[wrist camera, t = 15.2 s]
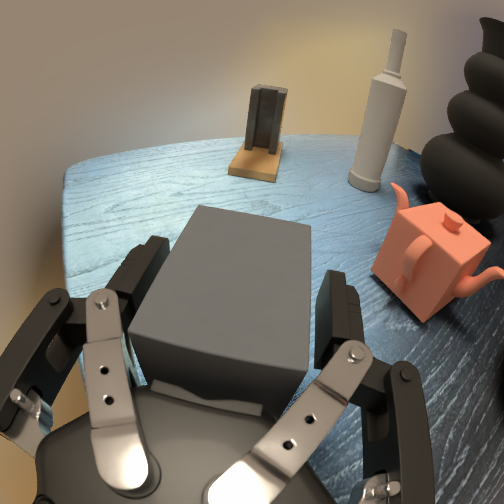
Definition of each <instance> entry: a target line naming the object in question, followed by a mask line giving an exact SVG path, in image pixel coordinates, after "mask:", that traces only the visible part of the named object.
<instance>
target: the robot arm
mask: <svg viewBox="0 0 504 504" xmlns="http://www.w3.org/2000/svg"><path fill="white" fill-rule="evenodd" d="M169 253H170V246H169V239H168V238H164V237H159V236H154V235H152V236H151V237H150V238H149V240H148V241H147V242H146V244H145V245H141V244H139V245H138V246H136V247H135V248H133V249H132V250H131V251H130V252H129V254H128V255H127V256H126V258H125V260H124V261H123V262H122V263H121V266H119V268H118V269H117V271H116V272H115V273H114V275H113V276H112V278H111V279H110V281H109V282H108V284H107V285H106V287H105V288H103V289H98V290H95V291H94V292H92V293H91V294H90V295H89V296H88V297H87V298H70V296H69V293H68V292H67V291H66V290H65V289H62V288H56V289H52V290H50V291H48V292H47V293H46V294H45V295H44V296H43V298H42V299H41V300H40V301H39V303H38V304H37V305H36V307H35V308H34V309H33V311H32V312H31V313H30V315H29V316H28V317H27V319H26V320H25V321H24V323H23V324H22V326H21V327H20V328H19V330H18V331H17V333H16V334H15V336H14V337H13V339H12V340H11V341H10V343H9V344H8V346H7V348H6V349H5V351H4V352H3V354H2V355H1V357H0V435H1V436H3V437H5V438H6V439H8V440H10V441H12V442H13V443H15V444H16V445H17V446H19V447H20V448H21V449H22V450H24V451H25V452H26V453H28V454H29V455H30V456H32V457H33V458H34V459H35V464H36V472H37V495H36V498H35V500H34V502H33V504H337V503H336V502H335V500H334V499H333V497H332V496H331V495H330V493H329V492H328V490H327V489H326V487H325V486H324V485H323V483H322V482H321V480H320V479H319V477H318V476H317V474H316V473H315V471H314V470H313V468H312V467H311V465H310V464H309V462H308V461H307V459H308V458H309V457H310V456H311V455H312V453H313V452H314V451H315V450H316V448H317V447H318V446H319V444H320V443H321V442H322V440H323V439H324V438H325V437H326V435H327V434H328V433H329V431H330V430H331V428H332V427H333V426H334V424H335V423H336V421H337V420H338V419H339V417H340V416H341V414H342V413H343V411H344V410H345V408H346V407H347V405H348V402H349V403H352V404H354V405H357V406H359V407H361V418H362V440H363V480H362V481H360V482H358V483H357V484H356V485H355V486H354V487H353V489H352V491H351V494H350V499H349V501H348V503H347V504H435V487H434V471H433V458H432V448H431V440H430V432H429V425H428V418H427V411H426V405H425V399H424V394H423V389H422V383H421V378H420V374H419V372H418V370H417V368H416V367H415V366H414V365H413V364H411V363H409V362H407V361H398V362H396V363H395V364H394V365H393V366H392V365H389V364H387V363H385V362H382V361H380V360H378V359H376V358H375V357H373V355H372V352H371V350H370V349H369V347H368V346H367V345H365V340H364V331H363V322H362V315H361V307H360V299H359V295H358V293H357V291H356V290H355V288H354V286H350V285H346V278H345V273H344V272H339V271H334V270H327V272H326V274H325V277H324V279H323V282H322V285H321V287H320V290H319V292H318V295H317V299H316V306H315V353H314V369H320V370H321V373H320V374H319V375H318V376H317V378H316V379H315V380H313V381H312V382H311V383H310V385H309V386H308V387H307V388H306V389H305V391H304V392H303V393H302V394H301V395H300V396H299V398H298V399H297V400H296V401H295V402H294V403H293V405H292V406H291V407H290V408H289V409H288V410H287V411H286V413H285V414H284V415H283V416H282V417H281V418H280V419H279V420H277V419H276V418H274V417H273V416H271V415H269V414H268V413H265V412H263V411H262V409H263V404H257V403H252V402H246V401H241V400H236V399H233V400H206V399H203V398H201V397H199V396H197V395H195V394H193V393H191V392H189V391H187V390H185V389H184V388H182V387H180V386H177V385H173V384H170V383H166V382H163V381H159V380H156V379H154V380H153V382H152V385H142V386H141V384H140V380H139V377H138V374H137V369H136V364H135V359H134V354H133V349H132V343H131V340H130V337H129V334H128V328H129V326H130V324H131V322H132V320H133V318H134V317H135V315H136V313H137V311H138V309H139V307H140V305H141V303H142V301H143V300H144V298H145V296H146V294H147V292H148V290H149V289H150V287H151V285H152V283H153V281H154V280H155V278H156V276H157V274H158V272H159V271H160V269H161V267H162V265H163V264H164V262H165V260H166V258H167V257H168V255H169ZM56 334H57V335H56ZM54 337H55V338H54ZM52 340H53V341H52ZM50 343H51V344H50ZM48 346H49V347H48ZM47 348H48V349H47ZM82 350H83V361H84V373H85V383H86V392H87V400H88V407H89V412H87V413H85V414H83V415H81V416H80V417H78V418H76V419H74V420H73V421H71V422H69V423H67V424H65V425H63V426H62V427H60V428H58V429H56V430H54V431H52V432H51V430H50V428H51V427H52V426H53V412H52V409H51V406H52V404H53V402H54V400H55V398H56V396H57V394H58V393H59V391H60V389H61V387H62V385H63V383H64V382H65V380H66V378H67V376H68V374H69V373H70V371H71V369H72V367H73V365H74V364H75V362H76V360H77V359H78V357H79V355H80V354H81V352H82Z"/></svg>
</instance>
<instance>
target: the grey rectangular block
mask: <svg viewBox="0 0 504 504" xmlns="http://www.w3.org/2000/svg"><path fill="white" fill-rule="evenodd" d="M310 315H311V226H310V225H305V224H300V223H295V222H290V221H285V220H280V219H274V218H269V217H264V216H258V215H253V214H248V213H242V212H236V211H231V210H225V209H219V208H213V207H207V206H201V205H198V207H197V208H196V210H195V212H194V213H193V215H192V216H191V218H190V220H189V221H188V223H187V225H186V226H185V228H184V230H183V231H182V233H181V235H180V236H179V238H178V240H177V241H176V243H175V245H174V246H173V248H172V250H171V251H170V253H169V255H168V257H167V258H166V260H165V262H164V264H163V265H162V267H161V269H160V271H159V272H158V274H157V276H156V278H155V280H154V281H153V283H152V285H151V287H150V289H149V290H148V292H147V294H146V296H145V298H144V300H143V301H142V303H141V305H140V307H139V309H138V311H137V313H136V315H135V317H134V318H133V320H132V322H131V324H130V326H129V328H128V334H129V337H130V340H131V343H132V346H133V349H134V351H135V354H136V357H137V359H138V362H139V365H140V367H141V370H142V372H143V375H144V377H145V380H146V382H147V385H152V382H153V380H154V379H156V380H159V381H163V382H166V383H170V384H173V385H177V386H180V387H182V388H184V389H185V390H187V391H189V392H191V393H193V394H195V395H197V396H199V397H201V398H203V399H206V400H233V399H236V400H241V401H246V402H252V403H257V404H263V409H262V411H263V412H265V413H268V414H269V415H271V416H273V417H274V418H276V419H277V420H278V419H279V418H280V416H281V415H282V413H283V411H284V410H285V408H286V407H287V405H288V403H289V402H290V400H291V399H292V397H293V395H294V394H295V392H296V390H297V389H298V387H299V385H300V384H301V382H302V380H303V378H304V377H305V375H306V373H307V371H308V365H309V344H310Z"/></svg>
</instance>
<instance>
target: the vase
mask: <svg viewBox="0 0 504 504" xmlns="http://www.w3.org/2000/svg"><path fill="white" fill-rule="evenodd" d="M479 21H480V23H481V26H482V29H483V46H482V52H478V53H476V54H475V55H473V56H472V57H470V58H469V59H468V60H467V62H466V64H465V67H464V75H465V79H466V82H467V84H468V87H469V91H468V90H466V91H464V92H461V93H459V94H457V95H455V96H454V97H453V98H452V99H451V100H450V102H449V104H448V108H447V114H448V119H449V122H450V124H451V126H452V128H453V130H454V133H449V134H442V135H438V136H436V137H434V138H432V139H431V140H430V141H429V142H428V143H427V144H426V145H425V147H424V149H423V151H422V154H421V160H420V166H421V172H422V175H423V178H424V180H425V182H426V184H427V185H428V187H429V188H430V189H429V191H428V192H429V196H430V198H431V199H432V200H433V202H434V203H437V202H440V203H442V204H443V205H444V206H446V207H447V208H448V209H450V210H451V211H453V212H455V213H457V214H458V215H460V216H461V217H462V219H463V220H464V221H465V222H467V223H468V224H474V225H475V224H479V223H480V221H481V220H490V219H494V218H496V217H498V216H500V215H501V214H503V213H504V162H503V160H502V159H504V22H501V21H499V20H496V19H492V18H487V17H483V18H480V20H479Z"/></svg>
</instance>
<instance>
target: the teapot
mask: <svg viewBox="0 0 504 504" xmlns="http://www.w3.org/2000/svg"><path fill="white" fill-rule="evenodd" d="M391 185H392V187H393V189H394V191H395V193H396V196H397V209H396V213H395V216H394V218H393V221H392V223H391V226H390V228H389V230H388V233H387V235H386V237H385V240H384V242H383V244H382V247H381V249H380V251H379V253H378V256H377V258H376V260H375V262H374V264H373V266H372V268H371V271H372V272H373V273H374V274H375V275H376V276H377V277H378V278H379V279H380V280H381V281H382V282H383V283H385V284H386V285H387V286H388V287H389V288H390V289H391V291H392V292H393V293H394V294H395V295H396V296H397V297H398V298H399V299H400V300H401V301H402V302H403V303H404V304H405V305H406V306H407V307H408V308H409V309H410V310H411V311H412V312H413V313H414V314H415V315H416V316H417V317H418V318H419V319H420V321H421V322H422V323H424V322H425V321H426V320H428V319H429V318H430V317H432V316H433V315H434V314H435V313H437V312H438V311H439V310H440V309H442V308H443V307H444V306H445V305H446V304H448V303H449V302H450V301H451V300H452V299H454V298H455V297H460V298H463V297H468V296H470V295H472V294H474V293H476V292H477V291H478V290H480V289H481V288H482V287H483V286H485V285H486V284H487V283H489V282H491V281H493V280H495V279H504V270H502V269H501V268H499V267H490V268H488V269H486V270H485V271H484V272H482V273H481V274H480V275H478V276H475V277H471V276H472V275H473V273H474V271H475V270H476V268H477V267H478V265H479V263H480V262H481V260H482V258H483V257H484V255H485V253H486V252H487V250H488V248H489V246H490V245H491V242H490V241H488V240H487V239H486V238H485V237H484V236H482V235H481V234H480V233H479V232H478V231H476V230H475V229H474V228H473V227H472V226H470V225H469V224H468V223H467V222H465V221H464V220H463V219H462V217H461V216H460V215H458V214H457V213H455V212H453V211H451V210H450V209H448V208H447V207H446V206H444V205H443V204H442V203H440V202H437V203H432V204H427V205H422V206H417V207H412V208H409V203H408V197H407V194H406V192H405V191H404V190H403V189H402V188H401V187H399V186H398V185H396V184H394V183H391Z"/></svg>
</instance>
